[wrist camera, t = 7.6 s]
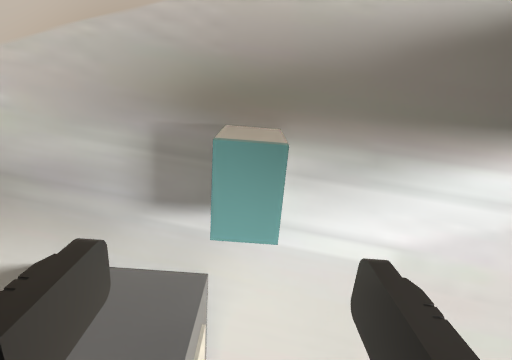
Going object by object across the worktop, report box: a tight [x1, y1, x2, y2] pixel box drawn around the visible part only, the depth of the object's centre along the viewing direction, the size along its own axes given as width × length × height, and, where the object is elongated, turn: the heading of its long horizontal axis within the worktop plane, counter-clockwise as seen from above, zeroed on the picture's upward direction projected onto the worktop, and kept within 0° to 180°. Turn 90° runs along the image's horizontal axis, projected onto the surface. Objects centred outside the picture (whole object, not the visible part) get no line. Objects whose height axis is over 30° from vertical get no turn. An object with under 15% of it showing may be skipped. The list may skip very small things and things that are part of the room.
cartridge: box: [210, 125, 289, 245], centre depth 18 cm, size 4×6×6 cm, turn 176°
